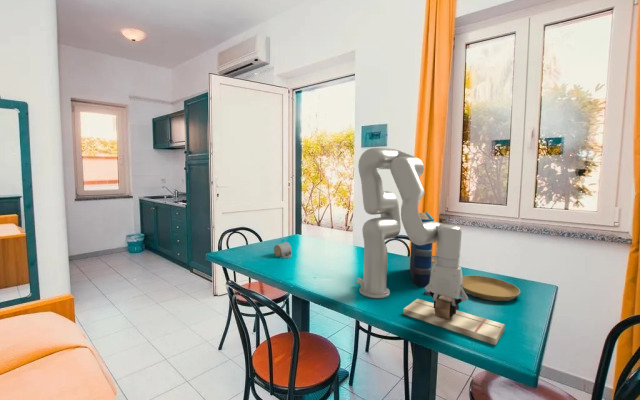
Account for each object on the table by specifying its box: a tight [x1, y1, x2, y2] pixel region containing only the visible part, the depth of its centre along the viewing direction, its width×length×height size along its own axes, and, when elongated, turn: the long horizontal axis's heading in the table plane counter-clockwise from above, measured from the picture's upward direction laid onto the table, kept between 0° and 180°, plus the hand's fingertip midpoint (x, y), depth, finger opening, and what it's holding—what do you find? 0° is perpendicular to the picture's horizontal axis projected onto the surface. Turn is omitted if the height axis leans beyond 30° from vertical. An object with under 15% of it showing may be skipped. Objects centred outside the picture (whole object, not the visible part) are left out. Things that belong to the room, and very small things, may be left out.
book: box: [409, 211, 435, 288], centre depth 152 cm, size 24×9×30 cm, turn 168°
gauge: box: [435, 295, 452, 319], centre depth 112 cm, size 4×9×6 cm, turn 139°
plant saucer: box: [462, 275, 521, 302], centre depth 138 cm, size 24×24×3 cm
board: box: [402, 298, 506, 346], centre depth 111 cm, size 30×12×2 cm, turn 49°
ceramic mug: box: [273, 241, 293, 259], centre depth 186 cm, size 11×8×8 cm
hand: (444, 312), depth 111 cm, fingers closed on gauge, 4 cm apart
